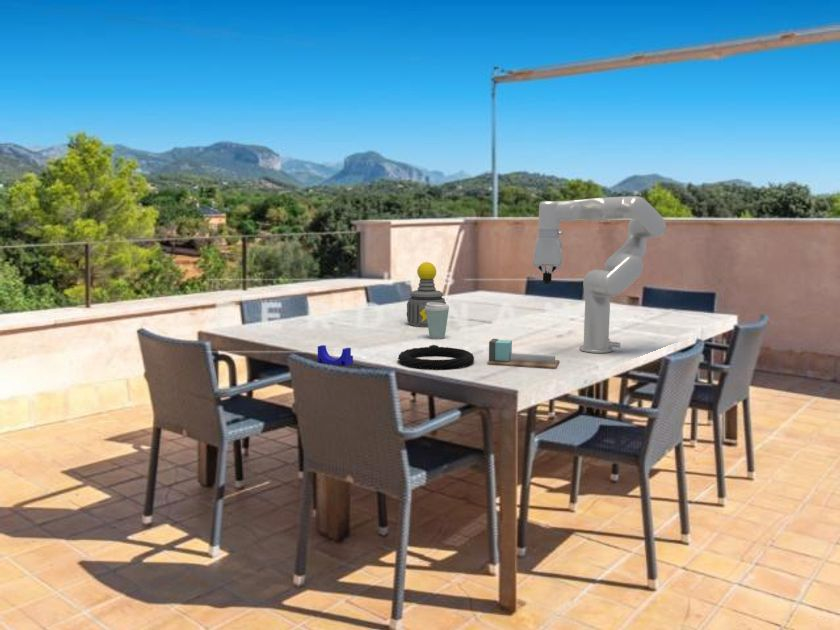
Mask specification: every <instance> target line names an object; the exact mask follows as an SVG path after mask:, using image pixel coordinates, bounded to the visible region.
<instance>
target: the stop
mask: <svg viewBox="0 0 840 630" xmlns="http://www.w3.org/2000/svg"><path fill="white" fill-rule="evenodd" d="M497 340H499V338H492V339H491V340H490V341H489V342H488V361H495V342H496V341H497Z"/></svg>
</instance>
